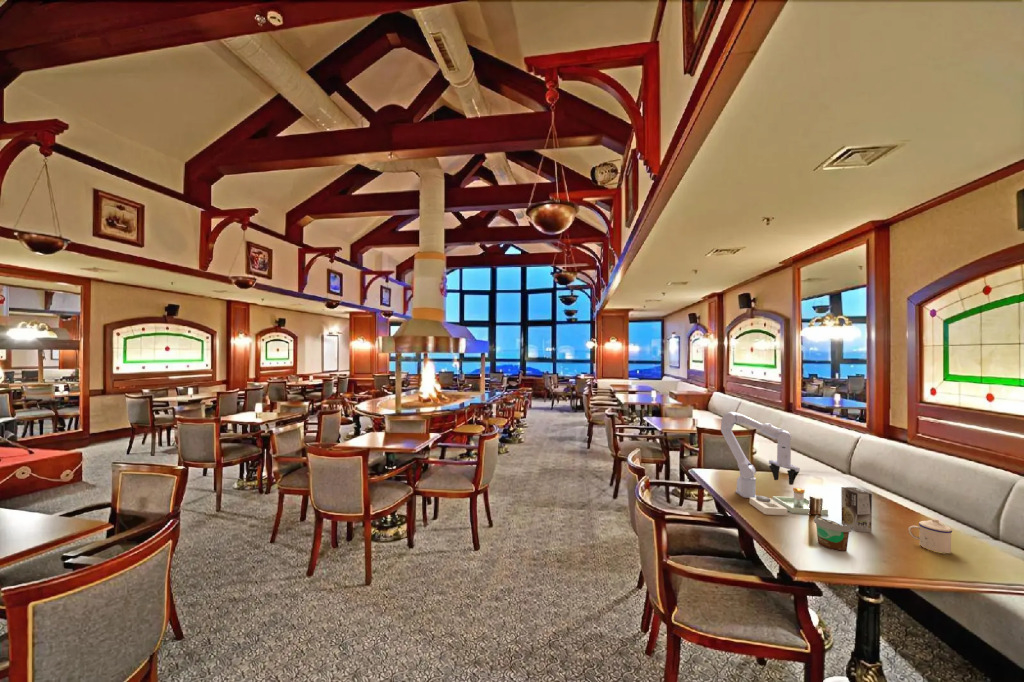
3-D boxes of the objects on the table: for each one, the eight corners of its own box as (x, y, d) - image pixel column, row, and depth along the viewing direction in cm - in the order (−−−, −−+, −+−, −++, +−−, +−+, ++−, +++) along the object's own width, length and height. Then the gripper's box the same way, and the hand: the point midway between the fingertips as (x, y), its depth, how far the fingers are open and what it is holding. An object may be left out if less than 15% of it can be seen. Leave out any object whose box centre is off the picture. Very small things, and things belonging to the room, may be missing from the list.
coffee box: (872, 532, 175) (872, 494, 176) (857, 531, 175) (857, 493, 176) (855, 523, 184) (855, 486, 185) (840, 522, 184) (840, 486, 185)
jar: (790, 505, 203) (790, 488, 203) (797, 504, 204) (797, 487, 204) (799, 509, 198) (799, 491, 198) (806, 508, 199) (806, 490, 200)
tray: (772, 501, 210) (772, 496, 210) (805, 502, 209) (805, 497, 209) (792, 513, 194) (792, 508, 194) (827, 515, 193) (827, 509, 193)
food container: (806, 541, 165) (806, 515, 165) (816, 538, 167) (816, 513, 167) (840, 555, 153) (840, 528, 154) (851, 553, 156) (851, 526, 156)
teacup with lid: (950, 549, 161) (950, 519, 162) (953, 557, 155) (953, 526, 155) (908, 539, 169) (908, 510, 170) (908, 546, 163) (909, 516, 163)
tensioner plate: (749, 503, 206) (749, 495, 206) (770, 504, 205) (770, 496, 205) (765, 514, 192) (765, 505, 192) (787, 515, 191) (787, 506, 191)
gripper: (764, 452, 213) (764, 478, 213) (793, 459, 200) (792, 487, 200) (774, 451, 216) (773, 477, 216) (802, 458, 203) (802, 486, 202)
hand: (783, 482), depth 208 cm, fingers open, 7 cm apart
